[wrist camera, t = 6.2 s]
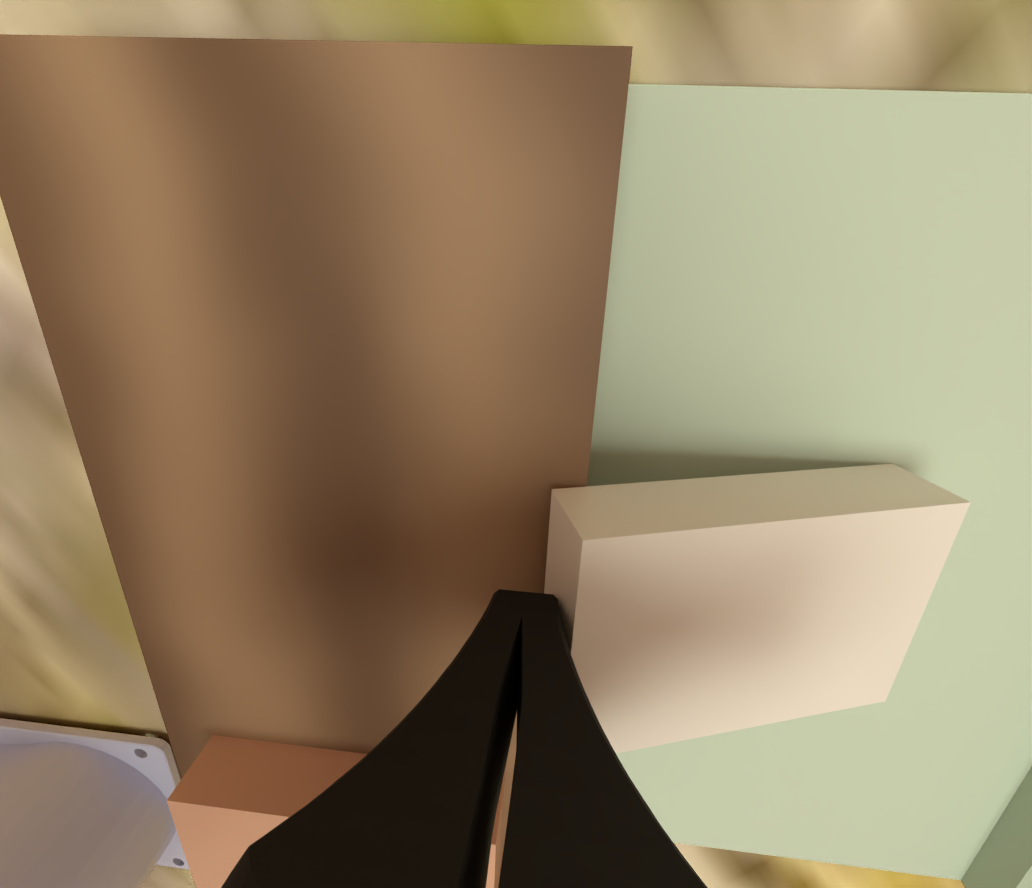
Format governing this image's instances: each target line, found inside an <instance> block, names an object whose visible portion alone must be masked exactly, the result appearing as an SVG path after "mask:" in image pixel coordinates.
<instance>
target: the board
mask: <svg viewBox="0 0 1032 888" xmlns="http://www.w3.org/2000/svg"><path fill="white" fill-rule="evenodd" d="M632 47H633V46H581V45H528V44H475V43H423V42H370V41H317V40H264V39H211V38H159V37H106V36H53V35H0V196H1V200H2V203H3V206H4V209H5V212H6V216H7V219H8V222H9V225H10V229H11V232H12V235H13V238H14V241H15V245H16V248H17V251H18V254H19V257H20V261H21V264H22V267H23V270H24V274H25V277H26V280H27V283H28V286H29V290H30V293H31V296H32V299H33V303H34V306H35V309H36V312H37V315H38V319H39V322H40V325H41V328H42V331H43V335H44V338H45V341H46V344H47V348H48V351H49V354H50V357H51V360H52V364H53V367H54V370H55V373H56V377H57V380H58V383H59V386H60V389H61V393H62V396H63V399H64V402H65V405H66V409H67V412H68V415H69V418H70V422H71V425H72V428H73V431H74V434H75V438H76V441H77V444H78V447H79V451H80V454H81V457H82V460H83V463H84V467H85V470H86V473H87V476H88V479H89V483H90V486H91V489H92V492H93V496H94V499H95V502H96V505H97V508H98V512H99V515H100V518H101V521H102V525H103V528H104V531H105V534H106V537H107V541H108V544H109V547H110V550H111V553H112V557H113V560H114V563H115V566H116V570H117V573H118V576H119V579H120V582H121V586H122V589H123V592H124V595H125V598H126V602H127V605H128V608H129V611H130V615H131V618H132V621H133V624H134V627H135V631H136V634H137V637H138V640H139V644H140V647H141V650H142V653H143V656H144V660H145V663H146V666H147V669H148V672H149V676H150V679H151V682H152V685H153V689H154V692H155V695H156V698H157V701H158V705H159V708H160V711H161V714H162V718H163V721H164V724H165V727H166V730H167V734H168V737H169V740H170V743H171V746H172V750H173V753H174V756H175V759H176V763H177V766H178V769H179V772H180V775H181V779H182V778H183V776H184V775H185V774H186V772H187V771H188V769H189V768H190V766H191V765H192V764H193V762H194V761H195V759H196V758H197V756H198V755H199V753H200V752H201V751H202V749H203V748H204V746H205V745H206V743H207V742H208V741H209V739H210V738H211V736H212V735H217V736H225V737H233V738H242V739H250V740H258V741H266V742H274V743H282V744H290V745H298V746H306V747H314V748H322V749H330V750H338V751H346V752H354V753H363V754H368V753H369V752H370V751H371V750H372V749H373V748H375V747H376V746H377V745H378V744H379V743H380V742H381V741H382V740H383V739H384V738H385V737H386V736H387V735H388V734H389V733H390V732H391V731H392V730H393V729H394V728H395V727H396V726H397V725H398V724H399V723H400V722H401V721H402V720H403V719H404V718H405V717H406V716H407V715H408V713H409V712H410V711H411V710H412V709H413V708H414V707H415V706H416V705H417V704H418V703H419V701H420V700H421V699H422V698H423V697H424V696H425V695H426V693H427V692H428V691H429V690H430V689H431V687H432V686H433V685H434V684H435V682H436V681H437V680H438V679H439V677H440V676H441V675H442V674H443V672H444V671H445V670H446V668H447V667H448V666H449V665H450V663H451V662H452V661H453V659H454V658H455V657H456V655H457V654H458V652H459V651H460V650H461V648H462V647H463V645H464V644H465V642H466V641H467V639H468V638H469V636H470V635H471V633H472V632H473V630H474V629H475V627H476V625H477V624H478V622H479V621H480V619H481V617H482V616H483V614H484V612H485V610H486V608H487V606H488V605H489V603H490V601H491V598H492V596H493V594H494V593H495V592H496V591H497V590H499V589H502V590H512V591H523V592H533V593H543V594H544V587H545V574H546V560H547V547H548V533H549V520H550V506H551V492H552V489H560V488H573V487H587V479H588V470H589V460H590V450H591V441H592V431H593V422H594V412H595V402H596V393H597V383H598V374H599V364H600V354H601V345H602V335H603V326H604V316H605V306H606V297H607V287H608V278H609V268H610V258H611V249H612V239H613V230H614V220H615V210H616V201H617V191H618V182H619V172H620V163H621V153H622V143H623V134H624V124H625V115H626V105H627V95H628V86H629V76H630V67H631V57H632ZM516 738H517V713H516V718H515V723H514V728H513V733H512V738H511V743H510V748H509V752H508V757H507V762H506V767H505V784H504V805H503V827H502V848H501V864H502V857H503V849H504V842H505V835H506V827H507V819H508V812H509V804H510V796H511V789H512V781H513V773H514V765H515V757H516ZM500 871H501V869H500Z"/></svg>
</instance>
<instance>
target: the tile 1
mask: <svg viewBox="0 0 1032 888" xmlns="http://www.w3.org/2000/svg"><path fill="white" fill-rule="evenodd" d="M366 755H367V754H363V753H354V752H346V751H338V750H330V749H322V748H314V747H306V746H298V745H290V744H282V743H274V742H266V741H258V740H250V739H242V738H233V737H225V736H217V735H212V736H211V738H210V739H209V741H208V742H207V743H206V745H205V746H204V748H203V749H202V751H201V752H200V753H199V755H198V756H197V758H196V759H195V761H194V762H193V764H192V765H191V766H190V768H189V769H188V771H187V772H186V774H185V775H184V776H183V778H182V779H181V781H180V782H179V784H178V785H177V786H176V788H175V789H174V791H173V792H172V794H171V795H170V796H169V798H168V799H167V803H168V806H169V809H170V812H171V815H172V818H173V821H174V824H175V827H176V830H177V833H178V836H179V839H180V842H181V845H182V848H183V851H184V854H185V857H186V860H187V863H188V866H189V869H190V872H191V875H192V878H193V881H194V884H195V887H196V888H221V887H222V885H223V884H224V882H225V881H226V879H227V878H228V876H229V875H230V873H231V871H232V870H233V868H234V867H235V865H236V864H237V863H238V861H239V860H240V858H241V857H242V855H243V854H244V852H245V851H246V849H247V848H248V847H249V846H250V845H251V844H253V843H254V842H255V841H257V840H258V839H260V838H261V837H263V836H264V835H265V834H267V833H268V832H269V831H271V830H272V829H274V828H275V827H276V826H278V825H279V824H281V823H282V822H283V821H285V820H286V819H288V818H289V817H290V816H292V815H293V814H294V813H296V812H297V811H299V810H300V809H301V808H303V807H304V806H306V805H307V804H308V803H309V802H311V801H312V800H313V799H315V798H316V797H317V796H318V795H320V794H321V793H322V792H323V791H324V790H326V789H327V788H328V787H329V786H330V785H332V784H333V783H334V782H335V781H336V780H338V779H339V778H340V777H341V776H342V775H344V774H345V773H346V772H347V771H348V770H350V769H351V768H352V767H353V766H354V765H356V764H357V763H358V762H359V761H360V760H361V759H363V758H364V757H365V756H366ZM504 784H505V772H504V777H503V782H502V786H501V791H500V796H499V801H498V806H497V811H496V816H495V822H494V828H493V834H492V841H491V849H490V857H489V865H488V874H487V882H486V888H498V886H499V879H500V869H501V848H502V827H503V805H504Z"/></svg>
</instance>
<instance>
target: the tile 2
mask: <svg viewBox="0 0 1032 888" xmlns="http://www.w3.org/2000/svg"><path fill="white" fill-rule="evenodd" d="M970 503H971V502H969V501H967V500H965V499H963V498H961V497H959V496H957V495H955V494H953V493H951V492H949V491H947V490H945V489H943V488H941V487H939V486H937V485H935V484H933V483H931V482H929V481H927V480H925V479H923V478H921V477H919V476H917V475H915V474H913V473H911V472H909V471H907V470H905V469H903V468H901V467H899V466H897V465H895V464H880V465H866V466H853V467H840V468H826V469H813V470H800V471H786V472H773V473H760V474H746V475H733V476H720V477H707V478H693V479H680V480H667V481H653V482H640V483H627V484H613V485H600V486H587V487H573V488H560V489H552V492H551V506H550V520H549V533H548V547H547V560H546V574H545V587H544V594H553V595H554V596H555V597H556V598H557V599H558V607H559V613H560V618H561V623H562V627H563V631H564V634H565V638H566V641H567V644H568V647H569V651H570V653H571V656H572V659H573V662H574V664H575V667H576V670H577V673H578V675H579V678H580V680H581V683H582V685H583V688H584V690H585V692H586V695H587V697H588V699H589V701H590V704H591V706H592V708H593V710H594V712H595V714H596V717H597V719H598V721H599V723H600V725H601V727H602V729H603V731H604V733H605V734H606V736H607V738H608V740H609V742H610V744H611V746H612V748H613V750H614V751H615V753H621V752H627V751H632V750H637V749H642V748H647V747H652V746H658V745H663V744H668V743H673V742H678V741H683V740H688V739H694V738H699V737H704V736H709V735H714V734H719V733H724V732H730V731H735V730H740V729H745V728H750V727H755V726H760V725H766V724H771V723H776V722H781V721H786V720H791V719H797V718H802V717H807V716H812V715H817V714H822V713H827V712H833V711H838V710H843V709H848V708H853V707H858V706H863V705H869V704H874V703H879V702H884V701H886V699H887V697H888V694H889V692H890V690H891V687H892V685H893V683H894V680H895V678H896V676H897V673H898V671H899V669H900V666H901V664H902V662H903V659H904V657H905V655H906V652H907V650H908V648H909V645H910V643H911V641H912V638H913V636H914V634H915V631H916V629H917V627H918V624H919V622H920V620H921V617H922V615H923V613H924V610H925V608H926V606H927V603H928V601H929V599H930V596H931V594H932V592H933V589H934V587H935V585H936V582H937V580H938V578H939V575H940V573H941V571H942V568H943V566H944V564H945V561H946V559H947V557H948V554H949V552H950V550H951V547H952V545H953V543H954V540H955V538H956V536H957V533H958V531H959V529H960V526H961V524H962V522H963V519H964V517H965V515H966V512H967V510H968V508H969V505H970Z"/></svg>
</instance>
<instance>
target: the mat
mask: <svg viewBox="0 0 1032 888" xmlns="http://www.w3.org/2000/svg"><path fill="white" fill-rule="evenodd" d="M880 464H895V465H897V466H899V467H901V468H903V469H905V470H907V471H909V472H911V473H913V474H915V475H917V476H919V477H921V478H923V479H925V480H927V481H929V482H931V483H933V484H935V485H937V486H939V487H941V488H943V489H945V490H947V491H949V492H951V493H953V494H955V495H957V496H959V497H961V498H963V499H965V500H967V501H969V502H971V503H970V505H969V508H968V510H967V512H966V515H965V517H964V519H963V522H962V524H961V526H960V529H959V531H958V533H957V536H956V538H955V540H954V543H953V545H952V547H951V550H950V552H949V554H948V557H947V559H946V561H945V564H944V566H943V568H942V571H941V573H940V575H939V578H938V580H937V582H936V585H935V587H934V589H933V592H932V594H931V596H930V599H929V601H928V603H927V606H926V608H925V610H924V613H923V615H922V617H921V620H920V622H919V624H918V627H917V629H916V631H915V634H914V636H913V638H912V641H911V643H910V645H909V648H908V650H907V652H906V655H905V657H904V659H903V662H902V664H901V666H900V669H899V671H898V673H897V676H896V678H895V680H894V683H893V685H892V687H891V690H890V692H889V694H888V697H887V699H886V701H884V702H879V703H874V704H869V705H863V706H858V707H853V708H848V709H843V710H838V711H833V712H827V713H822V714H817V715H812V716H807V717H802V718H797V719H791V720H786V721H781V722H776V723H771V724H766V725H760V726H755V727H750V728H745V729H740V730H735V731H730V732H724V733H719V734H714V735H709V736H704V737H699V738H694V739H688V740H683V741H678V742H673V743H668V744H663V745H658V746H652V747H647V748H642V749H637V750H632V751H627V752H621V753H616V755H617V757H618V758H619V760H620V762H621V763H622V765H623V767H624V769H625V770H626V772H627V774H628V776H629V777H630V779H631V780H632V782H633V783H634V785H635V786H636V788H637V790H638V791H639V793H640V794H641V796H642V797H643V799H644V800H645V802H646V803H647V805H648V807H649V808H650V810H651V811H652V813H653V814H654V816H655V817H656V819H657V820H658V822H659V823H660V825H661V826H662V828H663V829H664V830H665V832H666V833H667V835H668V836H669V837H670V839H671V840H672V842H673V843H681V844H688V845H696V846H703V847H711V848H719V849H726V850H734V851H742V852H749V853H757V854H764V855H772V856H780V857H787V858H795V859H803V860H810V861H818V862H825V863H833V864H841V865H848V866H856V867H864V868H871V869H879V870H887V871H894V872H902V873H909V874H917V875H925V876H932V877H940V878H948V879H955V880H961V881H962V883H963V885H964V886H965V888H1032V94H1029V93H988V92H946V91H905V90H864V89H823V88H781V87H740V86H699V85H658V84H629V86H628V95H627V105H626V115H625V124H624V134H623V143H622V153H621V163H620V172H619V182H618V191H617V201H616V210H615V220H614V230H613V239H612V249H611V258H610V268H609V278H608V287H607V297H606V306H605V316H604V326H603V335H602V345H601V354H600V364H599V374H598V383H597V393H596V402H595V412H594V422H593V431H592V441H591V450H590V460H589V470H588V479H587V486H600V485H613V484H627V483H640V482H653V481H667V480H680V479H693V478H707V477H720V476H733V475H746V474H760V473H773V472H786V471H800V470H813V469H826V468H840V467H853V466H866V465H880Z"/></svg>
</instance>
